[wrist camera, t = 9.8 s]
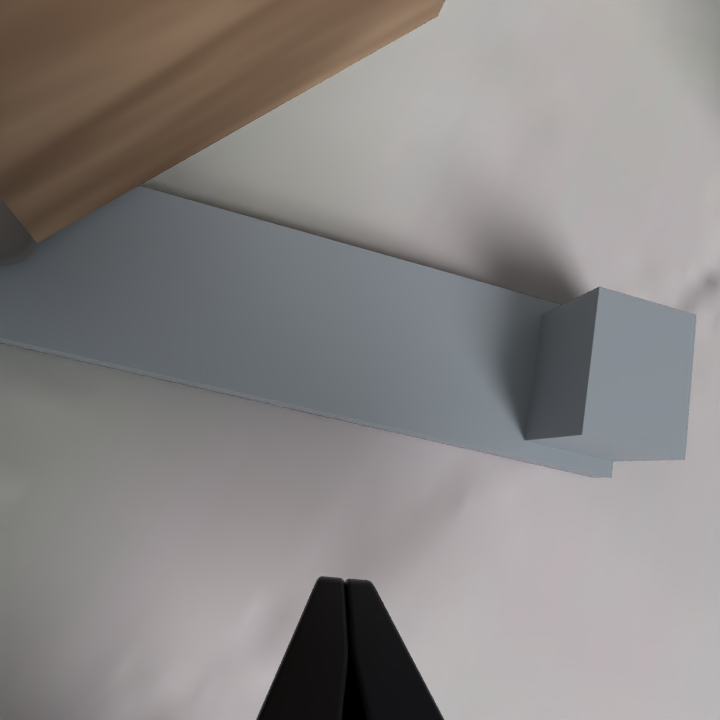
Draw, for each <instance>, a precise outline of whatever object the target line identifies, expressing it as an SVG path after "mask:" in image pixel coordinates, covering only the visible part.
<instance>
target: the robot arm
mask: <svg viewBox="0 0 720 720" xmlns="http://www.w3.org/2000/svg"><path fill="white" fill-rule="evenodd" d="M256 720H444V718H443V716H442V715H441V713H440V711H439V709H438V707H437V705H436V703H435V701H434V699H433V697H432V695H431V694H430V692H429V690H428V688H427V686H426V684H425V682H424V680H423V678H422V676H421V674H420V673H419V671H418V669H417V667H416V665H415V663H414V661H413V659H412V657H411V655H410V653H409V652H408V650H407V648H406V646H405V644H404V642H403V640H402V638H401V636H400V634H399V632H398V631H397V629H396V627H395V625H394V623H393V621H392V619H391V617H390V615H389V613H388V611H387V610H386V608H385V606H384V604H383V602H382V600H381V598H380V596H379V594H378V592H377V590H376V589H375V587H374V585H373V584H372V583H371V582H370V581H368V580H359V579H347V580H346V581H345V582H344V580H343V579H341V578H335V577H324V576H321V577H319V578H318V579H317V581H316V583H315V585H314V588H313V590H312V592H311V595H310V597H309V599H308V601H307V604H306V606H305V608H304V611H303V613H302V615H301V618H300V620H299V622H298V625H297V627H296V629H295V631H294V634H293V636H292V638H291V641H290V643H289V645H288V648H287V650H286V652H285V654H284V657H283V659H282V661H281V664H280V666H279V668H278V671H277V673H276V675H275V678H274V680H273V682H272V684H271V687H270V689H269V691H268V694H267V696H266V698H265V701H264V703H263V705H262V707H261V710H260V712H259V714H258V717H257V719H256Z"/></svg>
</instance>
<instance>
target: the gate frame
mask: <svg viewBox="0 0 720 720" xmlns="http://www.w3.org/2000/svg"><path fill="white" fill-rule="evenodd" d="M695 327H696V315H695V314H692V313H688V312H685V311H681V310H678V309H675V308H671V307H668V306H664V305H661V304H657V303H654V302H650V301H647V300H644V299H640V298H637V297H633V296H630V295H626V294H623V293H620V292H616V291H613V290H609V289H606V288H602V287H598V288H596V289H594V290H592V291H590V292H587V293H585V294H583V295H581V296H579V297H577V298H575V299H573V300H571V301H569V302H567V303H565V304H563V305H562V304H558V303H555V302H551V301H547V300H544V299H540V298H537V297H533V296H530V295H526V294H523V293H519V292H515V291H512V290H508V289H505V288H501V287H498V286H494V285H491V284H487V283H483V282H480V281H476V280H473V279H469V278H466V277H462V276H459V275H455V274H452V273H448V272H444V271H441V270H437V269H434V268H430V267H427V266H423V265H420V264H416V263H412V262H409V261H405V260H402V259H398V258H395V257H391V256H388V255H384V254H380V253H377V252H373V251H370V250H366V249H363V248H359V247H356V246H352V245H349V244H345V243H341V242H338V241H334V240H331V239H327V238H324V237H320V236H317V235H313V234H309V233H306V232H302V231H299V230H295V229H292V228H288V227H285V226H281V225H277V224H274V223H270V222H267V221H263V220H260V219H256V218H253V217H249V216H245V215H242V214H238V213H235V212H231V211H228V210H224V209H221V208H217V207H214V206H210V205H206V204H203V203H199V202H196V201H192V200H189V199H185V198H182V197H178V196H174V195H171V194H167V193H164V192H160V191H157V190H153V189H150V188H146V187H142V186H137V187H136V188H134V189H132V190H130V191H129V192H127V193H125V194H123V195H121V196H120V197H118V198H116V199H114V200H113V201H111V202H109V203H107V204H106V205H104V206H102V207H100V208H99V209H97V210H95V211H93V212H91V213H90V214H88V215H86V216H84V217H83V218H81V219H79V220H77V221H76V222H74V223H72V224H70V225H69V226H67V227H65V228H63V229H62V230H60V231H58V232H56V233H54V234H53V235H51V236H49V237H47V238H46V239H44V240H42V241H40V242H39V243H37V246H36V248H35V249H34V251H33V252H32V253H31V254H30V255H29V256H28V257H27V258H26V259H24V260H23V261H21V262H19V263H16V264H12V265H0V343H4V344H9V345H13V346H17V347H22V348H26V349H31V350H35V351H39V352H44V353H48V354H53V355H57V356H61V357H66V358H70V359H75V360H79V361H83V362H88V363H92V364H97V365H101V366H105V367H110V368H114V369H119V370H123V371H127V372H132V373H136V374H141V375H145V376H149V377H154V378H158V379H163V380H167V381H171V382H176V383H180V384H185V385H189V386H193V387H198V388H202V389H207V390H211V391H215V392H220V393H224V394H228V395H233V396H237V397H242V398H246V399H250V400H255V401H259V402H264V403H268V404H272V405H277V406H281V407H286V408H290V409H294V410H299V411H303V412H308V413H312V414H316V415H321V416H325V417H330V418H334V419H338V420H343V421H347V422H352V423H356V424H360V425H365V426H369V427H374V428H378V429H382V430H387V431H391V432H396V433H400V434H404V435H409V436H413V437H418V438H422V439H426V440H431V441H435V442H440V443H444V444H448V445H453V446H457V447H461V448H466V449H470V450H475V451H479V452H483V453H488V454H492V455H497V456H501V457H505V458H510V459H514V460H519V461H523V462H527V463H532V464H536V465H541V466H545V467H549V468H554V469H558V470H563V471H567V472H571V473H576V474H580V475H585V476H589V477H607V478H612V468H613V461H648V460H685V453H686V440H687V427H688V415H689V402H690V390H691V377H692V364H693V352H694V339H695Z"/></svg>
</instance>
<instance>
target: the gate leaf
mask: <svg viewBox="0 0 720 720" xmlns="http://www.w3.org/2000/svg"><path fill="white" fill-rule="evenodd" d="M444 2H445V0H0V265H12V264H16V263H19V262H21V261H23V260H24V259H26V258H27V257H28V256H29V255H30V254H31V253H32V252H33V251H34V249H35V248H36V246H37V243H39V242H40V241H42V240H44V239H46V238H47V237H49V236H51V235H53V234H54V233H56V232H58V231H60V230H62V229H63V228H65V227H67V226H69V225H70V224H72V223H74V222H76V221H77V220H79V219H81V218H83V217H84V216H86V215H88V214H90V213H91V212H93V211H95V210H97V209H99V208H100V207H102V206H104V205H106V204H107V203H109V202H111V201H113V200H114V199H116V198H118V197H120V196H121V195H123V194H125V193H127V192H129V191H130V190H132V189H134V188H136V187H137V186H139V185H141V184H143V183H144V182H146V181H148V180H150V179H151V178H153V177H155V176H157V175H158V174H160V173H162V172H164V171H166V170H167V169H169V168H171V167H173V166H174V165H176V164H178V163H180V162H181V161H183V160H185V159H187V158H188V157H190V156H192V155H194V154H195V153H197V152H199V151H201V150H203V149H204V148H206V147H208V146H210V145H211V144H213V143H215V142H217V141H218V140H220V139H222V138H224V137H225V136H227V135H229V134H231V133H232V132H234V131H236V130H238V129H240V128H241V127H243V126H245V125H247V124H248V123H250V122H252V121H254V120H255V119H257V118H259V117H261V116H262V115H264V114H266V113H268V112H270V111H271V110H273V109H275V108H277V107H278V106H280V105H282V104H284V103H285V102H287V101H289V100H291V99H292V98H294V97H296V96H298V95H299V94H301V93H303V92H305V91H307V90H308V89H310V88H312V87H314V86H315V85H317V84H319V83H321V82H322V81H324V80H326V79H328V78H329V77H331V76H333V75H335V74H336V73H338V72H340V71H342V70H344V69H345V68H347V67H349V66H351V65H352V64H354V63H356V62H358V61H359V60H361V59H363V58H365V57H366V56H368V55H370V54H372V53H373V52H375V51H377V50H379V49H381V48H382V47H384V46H386V45H388V44H389V43H391V42H393V41H395V40H396V39H398V38H400V37H402V36H403V35H405V34H407V33H409V32H410V31H412V30H414V29H416V28H418V27H419V26H421V25H423V24H425V23H426V22H428V21H430V20H432V19H433V18H435V17H437V16H438V14H439V12H440V10H441V8H442V6H443V4H444Z"/></svg>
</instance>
